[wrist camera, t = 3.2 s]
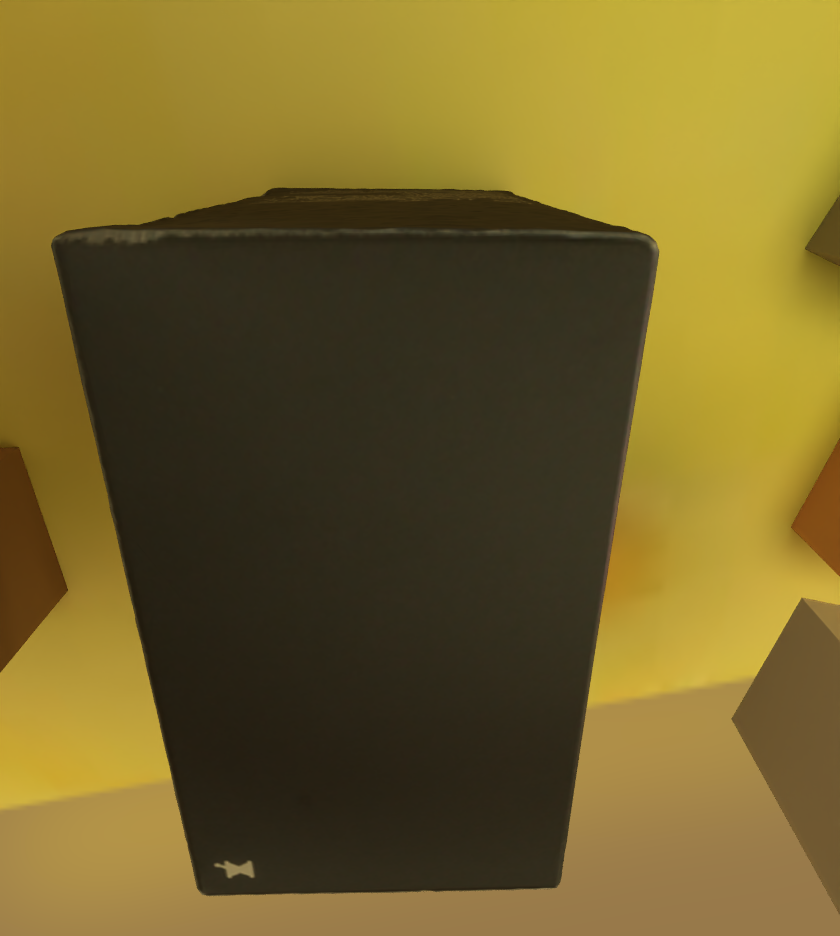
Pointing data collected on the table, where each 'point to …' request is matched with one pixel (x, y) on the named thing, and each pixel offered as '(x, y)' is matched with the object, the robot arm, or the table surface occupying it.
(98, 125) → the table surface
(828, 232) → the slate cube
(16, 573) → the walnut cube
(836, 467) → the terracotta cube
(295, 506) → the small box
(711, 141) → the table surface
